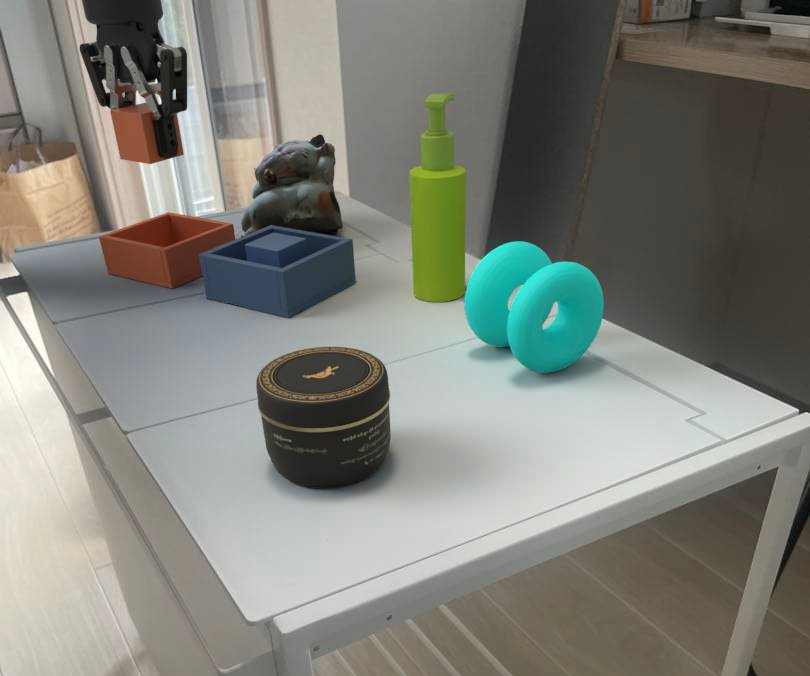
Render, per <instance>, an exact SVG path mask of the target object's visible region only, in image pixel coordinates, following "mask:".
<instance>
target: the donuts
mask: <svg viewBox="0 0 810 676" xmlns="http://www.w3.org/2000/svg"><path fill="white" fill-rule="evenodd" d="M520 286H521V287H520ZM519 287H520V288H519ZM517 288H519V289H518V291H517V293H516V294H515V296H514V298H513V301H512V303H511V305H510V309H509V301H510V298H511V296H512V294H513V292H515V290H516V289H517ZM555 303H557V312H556V316H555V317H554V319H553V320H552V322H551V323H550V324H549V325H547V327H544V328H543V325H544V324H545V322H546V321H547V319H548V318H549V316H550V313H551V312H552V309H553V307H554V304H555ZM604 308H605V299H604V293H603V289H602V286H601V284H600V281H599V279H598V278H597V277H596V275H595V274H594V273H593V272H592V271H591V270H590V268H588V267H586V266H584V265H582V264H580V263H578V262H572V261H557V262H554V263H553V262H552V260H551V259H550V257H549V256H548V254H547V253H546V252H545V251H544V250H543V249H541V248H540V247H539V246H537V245H535V244H533V243H532V242H527V241H521V240H520V241H519V240H518V241H509V242H505V243H503V244H501V245H499V246H497V247H495V248H493V249H492V250H490V251H489V252H488V253H487V254H486V255H485V256H484V257H482V259H481V260H480V261H479V262H478V263H477V265H476V267H475V268H474V270H473V271H472V273H471V275H470V277H469V280H468V282H467V284H466V288H465V293H464V312H465V317H466V321H467V324H468V326H469V328H470V330H471V331H472V332H473V334H474V335H475V336H476V337H477V338H478V339H479V340H480V341H482V342H484V343H485V344H487V345H490V346H492V347H498V348H499V347H500V348H505V347H509V348H510V350H511V353H512V354H513V356H514V358H515V359H516V360H517V361H518V362H519V363H520V365H522V366H523V367H525V369H528V370H530V371H533V372H537V373H541V374H542V373H543V374H547V373H554V372H558V371H562V370H564V369H566V368H568V367H570V366H571V365H573V364H574V363H575V362H577V361H578V360H579V359H581V358H582V356H583V355H584V354H585V353H586V352H587V351H588V350H589V348H590V347H591V345H592V344H593V342H594V341H595V339H596V337H597V335H598V333H599V331H600V327H601V325H602V321H603V317H604Z"/></svg>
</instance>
